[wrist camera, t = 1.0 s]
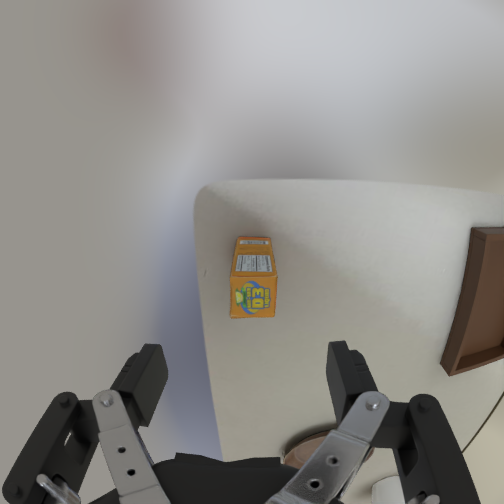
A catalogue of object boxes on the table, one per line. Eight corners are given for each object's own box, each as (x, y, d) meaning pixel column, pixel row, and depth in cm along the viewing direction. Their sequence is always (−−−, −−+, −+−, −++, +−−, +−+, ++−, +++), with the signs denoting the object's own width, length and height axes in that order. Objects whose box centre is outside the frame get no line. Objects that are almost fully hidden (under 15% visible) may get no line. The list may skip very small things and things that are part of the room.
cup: (386, 492, 46) (394, 529, 35) (351, 493, 45) (358, 534, 34) (419, 469, 43) (432, 508, 31) (385, 470, 42) (398, 515, 30)
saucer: (265, 443, 38) (265, 456, 35) (353, 408, 35) (357, 422, 32) (307, 474, 41) (308, 485, 39) (381, 445, 38) (384, 456, 36)
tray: (471, 227, 26) (486, 234, 23) (530, 227, 25) (544, 233, 22) (439, 363, 32) (448, 376, 29) (499, 345, 31) (509, 355, 28)
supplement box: (272, 268, 29) (275, 322, 19) (237, 267, 29) (224, 320, 19) (273, 235, 28) (278, 276, 18) (237, 234, 28) (222, 275, 18)
